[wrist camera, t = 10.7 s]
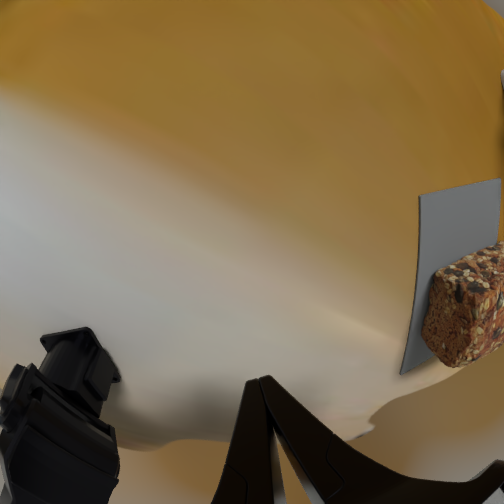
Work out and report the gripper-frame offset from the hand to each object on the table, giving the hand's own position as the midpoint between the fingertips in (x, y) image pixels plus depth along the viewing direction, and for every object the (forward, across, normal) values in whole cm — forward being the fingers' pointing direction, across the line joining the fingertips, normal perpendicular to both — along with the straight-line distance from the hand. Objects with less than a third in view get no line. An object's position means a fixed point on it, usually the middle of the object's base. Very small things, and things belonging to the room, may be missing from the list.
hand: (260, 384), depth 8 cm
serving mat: (+12, -27, +11) cm, 32 cm away
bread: (+12, -29, +12) cm, 34 cm away
